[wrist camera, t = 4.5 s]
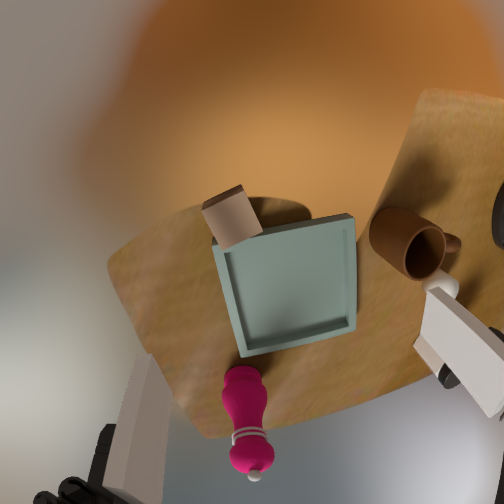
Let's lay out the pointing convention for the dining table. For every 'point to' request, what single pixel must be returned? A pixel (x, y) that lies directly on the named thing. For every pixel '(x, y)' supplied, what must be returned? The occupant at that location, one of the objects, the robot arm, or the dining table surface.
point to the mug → (410, 242)
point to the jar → (435, 363)
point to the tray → (291, 284)
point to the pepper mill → (247, 421)
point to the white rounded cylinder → (442, 283)
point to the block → (231, 217)
